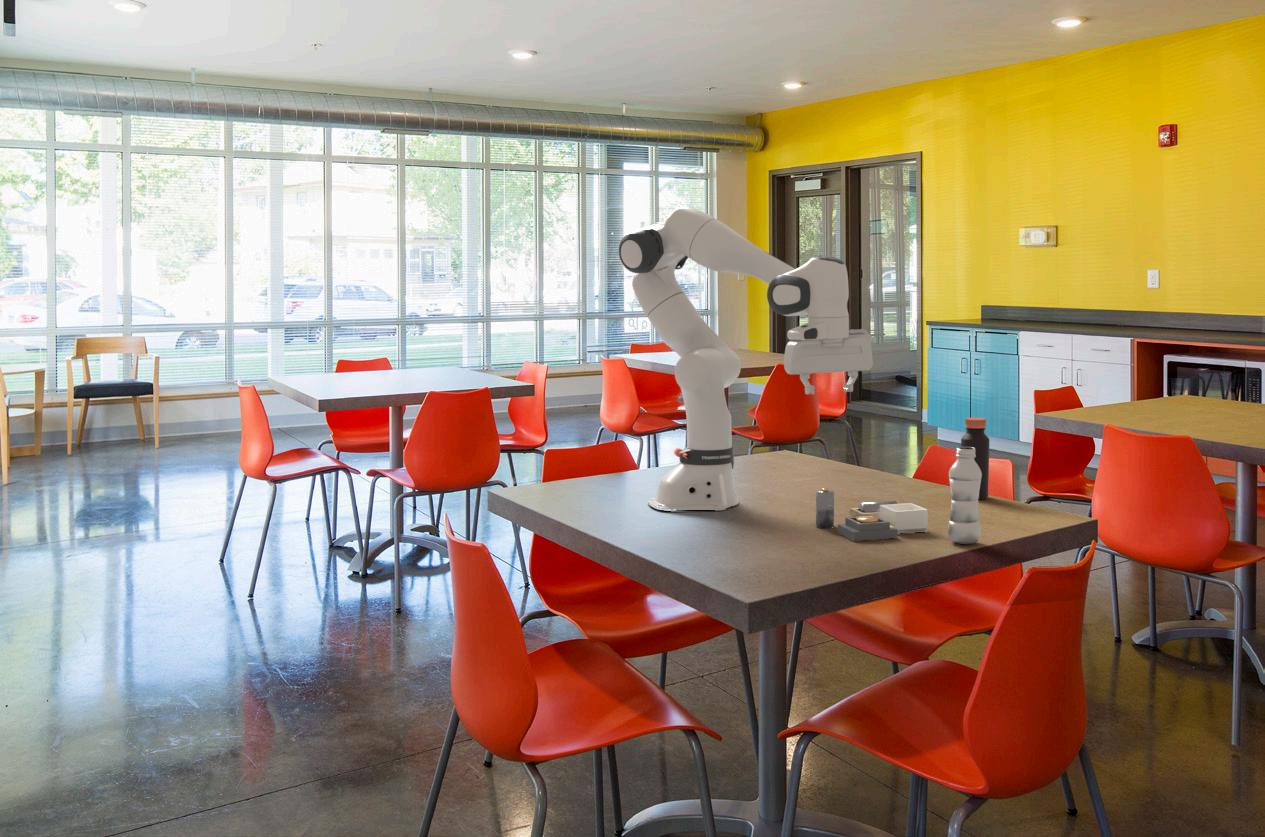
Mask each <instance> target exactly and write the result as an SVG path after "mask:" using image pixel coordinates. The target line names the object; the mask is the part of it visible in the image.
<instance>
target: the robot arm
mask: <svg viewBox="0 0 1265 837" xmlns="http://www.w3.org/2000/svg"><path fill="white" fill-rule="evenodd" d="M618 256H619V257H618V258H619V260H620V261H621V264H622V265H623V267H624V268H625V269H626V270H627V271H629V272H630V273H634V274H635V275H634V276H633V278H632V283H631V285H632V290H633V291H634V294H635V296H636V299H637V301H638V302H639V305H640V307H641V309H642V310H643V312H644V314H645V315H646V318H648V320H649V321H650V323H651V325H652V326H653V328H654V329H655V331H656V332H657V334H658V335H659V337H660V338H661V340H662V341H663V343H664V344H665V345H666V346H668V347H669V348H671V350H673V351H674V352H675V353H676V355H678V356H679V357H680V359H678V361H677V362H676V364H675V366H674V367H675V368H674V377H675V381H676V384H677V385H678V386H679V388H680V391H681V395H682V399H683V401H682V402H683V404H684V409H685V415H686V418H685V419H686V442H687V443H686V447H684V448H683V449H681V448H679V447H676V448H675V449H674V450H673V454H674V456H676V457H678V458H679V463H678V464H677V465H675V466H674V467H673V468H672V469H671V470H670V471H668V472H667V473H665V474H664V475H663V476H662V477H661V478H660V479H659V481H658V484H657V488H656V496H655V497H650V498H649V499H655V500H649V499H647V503H648V502H649V503H650V504H651V505H653V506H655V507H658V508H662V509H671V510H673V509H676V510H715V511H726V510H727V509H728V508H731V506H732V507H734V506H737V505H738V504H739V499H738V496H737V492H736V488H735V482H734V481H735V480H734V473H733V472H734V471H733V469H734V466H735V453H734V447H733V445H732V443H733V442H732V431H733V430H732V428H733V427H732V423H733V422H732V415H731V413H730V411H729V408H728V404H727V400H726V394H725V388H728V387H730V386H731V385H732V384H733V383H735V381H736V380H737V379H738V378H739V375H740V374H741V370H742V368H741V367H742V364H741V360H740V358H739V356H738V354H737V353H736V352H734V350H732V349H731V348H729V347H728V346H727V344H726V343H725V342H724V341H723V340H722V339H721V338H720V336H718V334H717V333H716V332H715V331H714V330H713V329H712V328H711V327H710V326H709V324H708V323H707V322H706V321H705V320H704V318H702V316H701V315H700V313H699V312H698V310H697V308H695V306H694V305H693V303H692V301H691V300H690V299H689V297H688V296H687V294H686V293H685V291H684V290H683V288H682V287H681V286H680V284H679V282H678V280H677V278H676V275H675V274H676V273H675V270H682V269H683V267H684V266H685V264H686V261H687V260H688V258H689V259H690V260H691V261H693V262H694V263H697V264H698V265H700V266H702V267H704V268H707V269H709V270H711V271H714V272H718V273H725V274H737V275H745V276H750V277H753V278H755V279H758V280H760V281H762V282H764V283H765V284H767V285H768V286H767V292H766V298H767V303H768V305H769V307H770V308H771V310H772V311H773V312H774V313H776V314H778V315H780V316H785V317H798V316H799V317H800V316H807V322H806V323H804V324H801V325H799V326H796V327H794V328H791V329H789V330H788V331H787V334H786V336H787V339H788V340H789V341H787V344H786V345H785V350H784V357H783V358H784V360H783V366H784V367H783V368H784V370H785V372H786V373H787V375H799V380H800V381H801V382H802V384H803V386H804V394H805V395H814V394H815V386H814V385H811V383H810V381H809V379H810V378H811V377H810V376H811V375H812V374H827V373H829V374H830V373H846V372H847V376H849V378H848V380H847V382H846V383H843V392H845V393H848V392H849V393H853V391H854V384H855V383H856V381H857V379H858V377H859V372H864V371H871V369H872V367H874V363H873V362H874V361H873V360H874V359H873V350H872V335H871V333H870V332H869V331H867V330H866V329H865V328H860V329H850V318H849V317H850V314H849V311H848V301H849V297H850V296H849V295H850V293H849V292H850V290H849V277H848V276H849V275H848V270H847V266H846V264H845V262H844V261H843V260H841V259H840V258H838V257H837V258H836V257H831V256H830V257H829V256H822V255H821V256H820V255H819V256H815V255H814V256H812V257H811V258H810V259H808V261H807V262H805V263H804V264H802V265H800V266H799V267H797V268H796V267H794V266H792V265H790V264H789V263H787V262H785V261H783V260H782V259H779V258H778V257H776V256H774V255H773V254H771V253H768V252H767V251H765V250H764V249H762V248H760V247H759V246H757V245H755V243H753V242H751V241H750V240H748V239H746V238H745V237H744V236H742V235H740V233H739V232H736V231H735V230H734V229H733V228H731V227H730V226H728V225H727V224H726V223H724V222H722V221H720V220H719V219H718V218H716V217H713V216H712V215H710V214H708V213H706V212H704V211H702V210H699V209H697V208H693V207H691V206H686V205H684V206H679V207H676V208H675V209H674V210H672V211H671V212H670V213H669V215H668V216H667V218H666V219H665V221H664V220H663V221H657V222H653V223H650V224H648V225H646V226H643V227H641V228H636V229H634V230H632V231H629V232H628V233H626V235H624V236H623V237H622V238H621V240H620V243H619V246H618ZM659 506H661V507H659ZM726 508H727V509H726Z"/></svg>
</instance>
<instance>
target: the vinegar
mask: <svg viewBox="0 0 1265 837" xmlns="http://www.w3.org/2000/svg"><path fill="white" fill-rule="evenodd" d="M964 421H965V422H964V427H965V429H964V430H966V433H965V434H964V435H963V436H962V437H961V438H960V447H973V448H975V455H976V457H975V458H974V460H975V462H976V463H977V465H978V466H979V468H980V470H981V473H982V477H981V484H980V490H979V499H982V500H986V499H987V497H989V472H990V466H989V465H990V438H989V437H988V436H987V435H986V433H985V431H986V427H987V419H986V418H983V417H966V418H965V419H964ZM985 498H986V499H985Z"/></svg>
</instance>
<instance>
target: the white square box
mask: <svg viewBox="0 0 1265 837" xmlns="http://www.w3.org/2000/svg"><path fill="white" fill-rule="evenodd" d="M928 515H929V509H927V508H925V507H922V506H919V505H917V504H915V503H913V502H908V503H907V502H906V503H905V502H903V503H897V504H888V505H880V518H882V519H884V520H886V521H888V522H890V525H891V526H893V527H894V528H896V529H897V535H901V534H900V533H911V534H916V533H915V532H925V533H927V532H926V531H928V530H929V529H928V525H929V524H928V522H929V516H928Z"/></svg>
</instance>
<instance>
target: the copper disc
mask: <svg viewBox="0 0 1265 837" xmlns="http://www.w3.org/2000/svg"><path fill="white" fill-rule="evenodd" d="M856 521H857V522H859V523H874V522H878V517H875V516H858V517H857V519H856Z"/></svg>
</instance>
